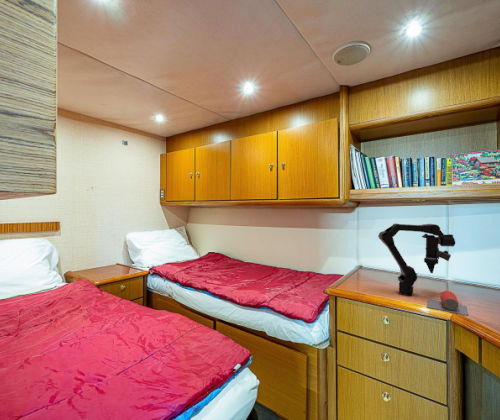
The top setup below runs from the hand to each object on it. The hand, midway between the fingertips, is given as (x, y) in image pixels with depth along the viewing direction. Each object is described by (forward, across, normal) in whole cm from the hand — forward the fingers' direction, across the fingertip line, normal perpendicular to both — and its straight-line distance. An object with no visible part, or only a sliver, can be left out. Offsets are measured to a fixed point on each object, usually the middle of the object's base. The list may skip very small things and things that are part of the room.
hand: (431, 273), depth 145 cm
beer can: (+9, -10, -7) cm, 15 cm away
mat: (+13, -16, -7) cm, 22 cm away
